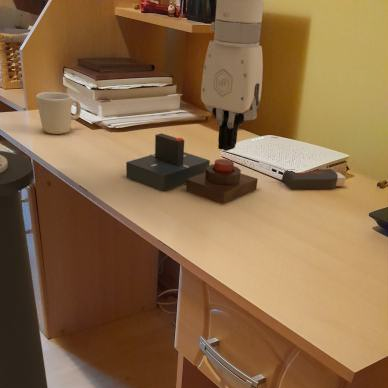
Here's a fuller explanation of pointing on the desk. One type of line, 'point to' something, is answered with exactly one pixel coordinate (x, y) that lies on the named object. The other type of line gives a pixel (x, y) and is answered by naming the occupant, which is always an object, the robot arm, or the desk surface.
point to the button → (223, 166)
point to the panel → (165, 170)
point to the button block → (221, 184)
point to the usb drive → (313, 179)
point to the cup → (56, 111)
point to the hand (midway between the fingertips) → (226, 148)
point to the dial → (169, 149)
